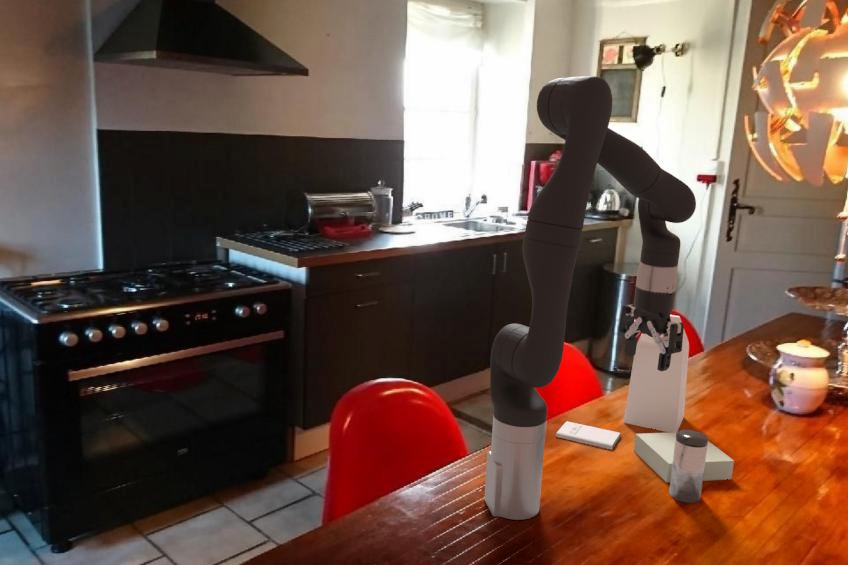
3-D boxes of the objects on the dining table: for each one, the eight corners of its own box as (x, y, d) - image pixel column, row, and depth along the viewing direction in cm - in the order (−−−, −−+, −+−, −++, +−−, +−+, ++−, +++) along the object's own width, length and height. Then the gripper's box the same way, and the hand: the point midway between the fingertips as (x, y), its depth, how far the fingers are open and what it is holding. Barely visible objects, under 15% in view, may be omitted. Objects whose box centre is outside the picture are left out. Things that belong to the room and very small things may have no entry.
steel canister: (678, 503, 131) (686, 442, 129) (663, 488, 137) (670, 430, 134) (706, 501, 132) (714, 441, 130) (690, 487, 138) (697, 429, 135)
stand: (666, 482, 139) (668, 463, 138) (633, 451, 153) (635, 433, 152) (731, 479, 142) (734, 460, 141) (693, 448, 155) (695, 431, 154)
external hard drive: (611, 452, 153) (555, 438, 158) (620, 438, 160) (566, 426, 165) (612, 445, 152) (556, 432, 158) (621, 432, 160) (567, 419, 165)
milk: (683, 417, 173) (696, 313, 167) (676, 434, 163) (689, 324, 157) (633, 407, 178) (644, 306, 173) (623, 422, 168) (634, 316, 163)
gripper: (615, 278, 143) (607, 354, 148) (671, 297, 132) (660, 378, 136) (642, 275, 147) (633, 348, 151) (698, 292, 135) (687, 372, 140)
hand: (646, 362), depth 144 cm, fingers open, 8 cm apart
